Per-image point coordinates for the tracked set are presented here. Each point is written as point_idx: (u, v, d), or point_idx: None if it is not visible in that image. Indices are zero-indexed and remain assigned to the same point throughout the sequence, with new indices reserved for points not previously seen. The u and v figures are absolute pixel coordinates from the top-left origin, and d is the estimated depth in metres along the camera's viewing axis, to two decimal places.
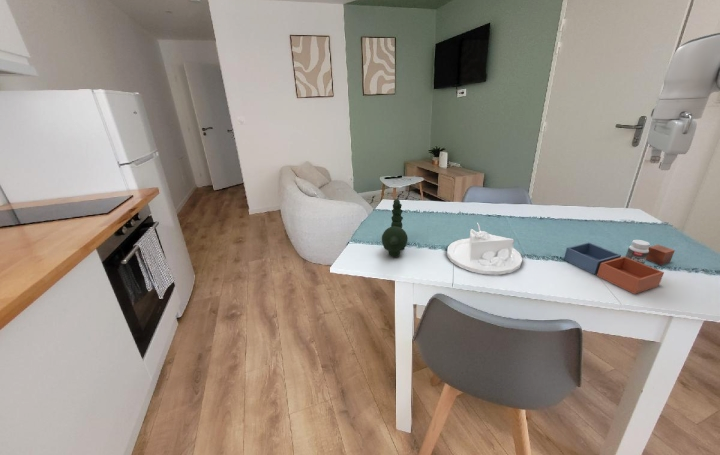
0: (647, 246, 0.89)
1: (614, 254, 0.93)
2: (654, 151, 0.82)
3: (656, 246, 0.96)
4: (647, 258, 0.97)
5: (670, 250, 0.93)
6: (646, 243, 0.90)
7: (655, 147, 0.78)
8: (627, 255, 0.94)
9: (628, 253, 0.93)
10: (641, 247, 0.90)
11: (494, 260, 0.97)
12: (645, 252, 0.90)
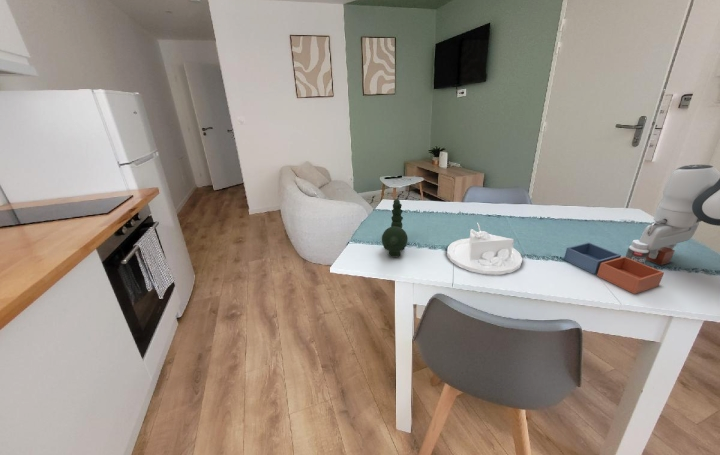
0: (647, 246, 0.89)
1: (614, 254, 0.93)
2: None
3: None
4: (647, 258, 0.97)
5: (670, 250, 0.93)
6: None
7: None
8: (627, 255, 0.94)
9: (628, 253, 0.93)
10: (641, 247, 0.90)
11: (494, 260, 0.97)
12: (645, 252, 0.90)
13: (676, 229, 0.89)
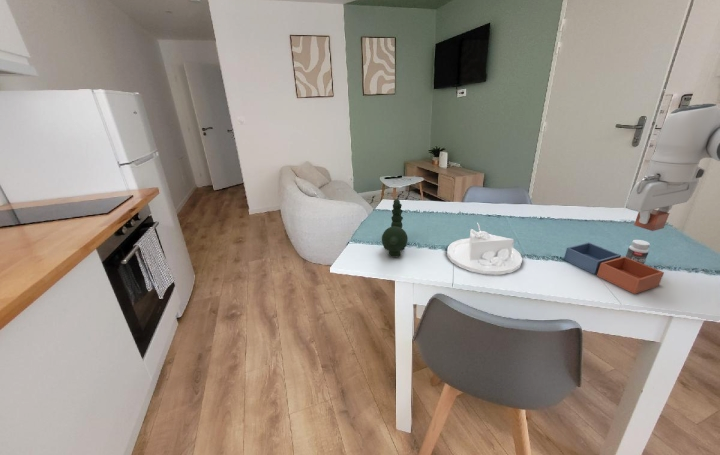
0: (647, 246, 0.89)
1: (614, 254, 0.93)
2: (661, 208, 0.81)
3: None
4: (637, 224, 0.82)
5: (664, 213, 0.78)
6: (646, 243, 0.90)
7: None
8: (627, 255, 0.94)
9: (628, 253, 0.93)
10: (641, 247, 0.90)
11: (494, 260, 0.97)
12: (645, 252, 0.90)
13: (671, 186, 0.74)
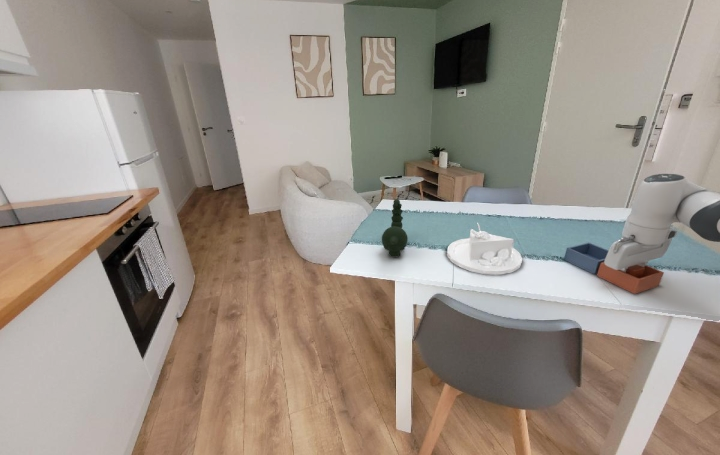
0: None
1: None
2: None
3: None
4: None
5: (640, 268, 0.84)
6: None
7: None
8: None
9: None
10: None
11: (494, 260, 0.97)
12: None
13: (645, 246, 0.79)
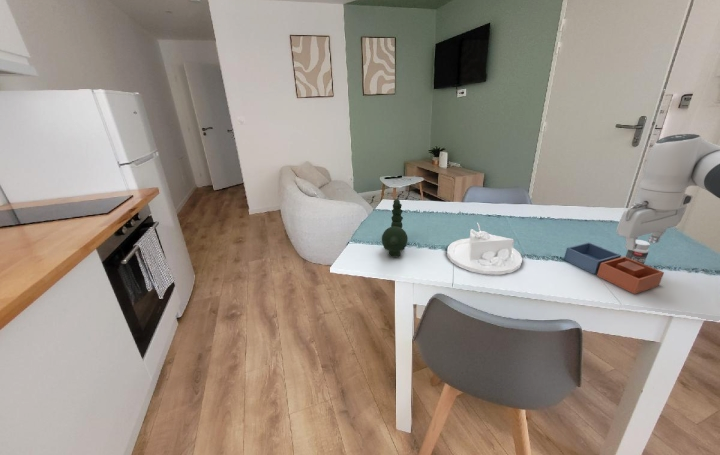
0: (647, 246, 0.89)
1: (614, 254, 0.93)
2: (656, 231, 0.83)
3: (625, 263, 0.86)
4: None
5: (640, 268, 0.84)
6: (646, 243, 0.90)
7: None
8: (627, 255, 0.94)
9: (628, 253, 0.93)
10: (641, 247, 0.90)
11: (494, 260, 0.97)
12: (645, 252, 0.90)
13: (659, 213, 0.75)
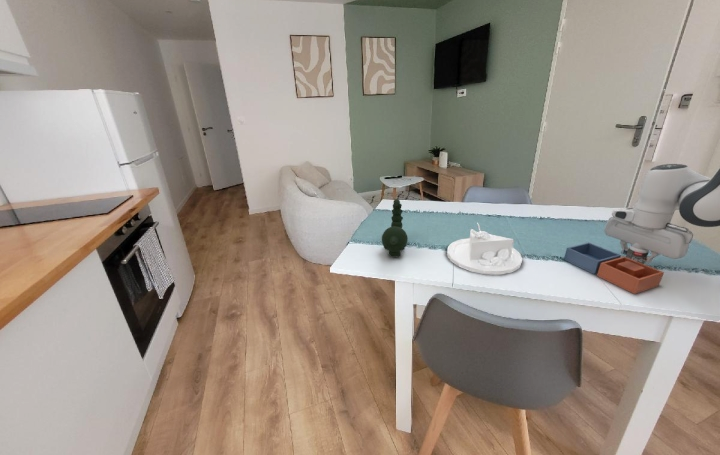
0: None
1: (614, 254, 0.93)
2: (624, 245, 0.95)
3: (625, 263, 0.86)
4: None
5: (640, 268, 0.84)
6: None
7: None
8: (627, 255, 0.94)
9: (628, 253, 0.93)
10: None
11: (494, 260, 0.97)
12: (645, 252, 0.90)
13: None
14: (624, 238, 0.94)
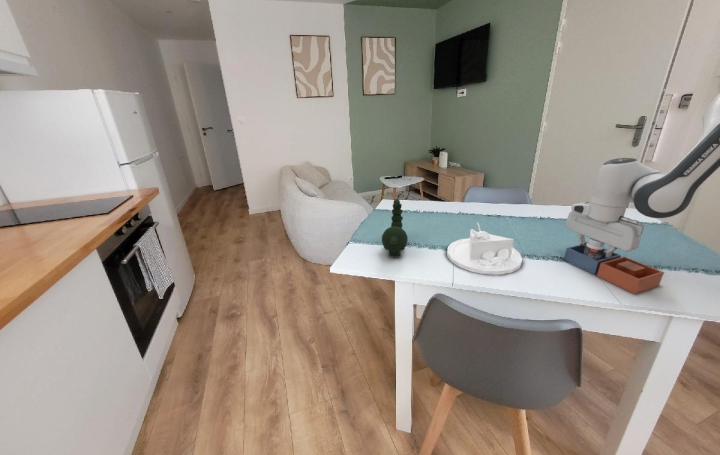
0: (602, 243, 0.91)
1: (614, 254, 0.93)
2: (581, 237, 0.97)
3: (625, 263, 0.86)
4: None
5: (640, 268, 0.84)
6: None
7: (591, 237, 0.93)
8: (584, 252, 0.96)
9: (585, 250, 0.95)
10: (596, 244, 0.92)
11: (494, 260, 0.97)
12: (600, 249, 0.92)
13: None
14: (583, 232, 0.95)
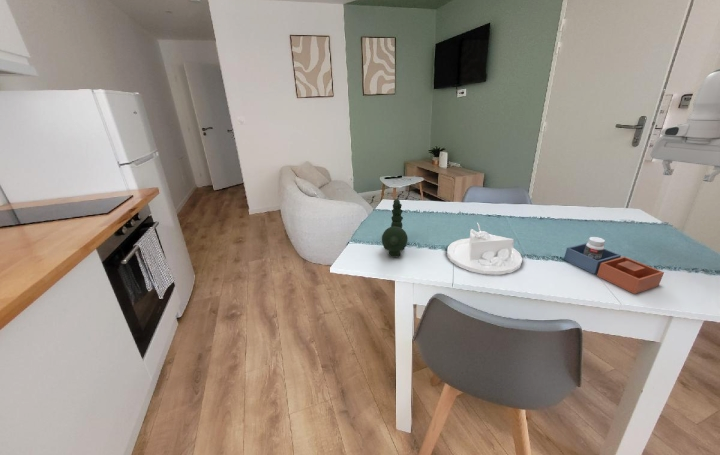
0: (602, 243, 0.91)
1: (614, 254, 0.93)
2: (666, 165, 0.92)
3: (625, 263, 0.86)
4: None
5: (640, 268, 0.84)
6: (601, 240, 0.92)
7: None
8: (584, 252, 0.96)
9: (585, 250, 0.95)
10: (596, 244, 0.92)
11: (494, 260, 0.97)
12: (600, 249, 0.92)
13: None
14: (674, 157, 0.89)
